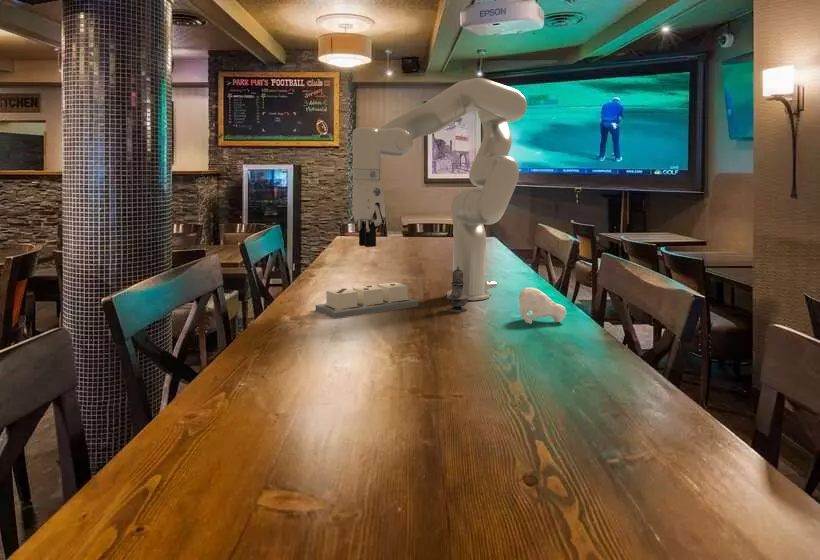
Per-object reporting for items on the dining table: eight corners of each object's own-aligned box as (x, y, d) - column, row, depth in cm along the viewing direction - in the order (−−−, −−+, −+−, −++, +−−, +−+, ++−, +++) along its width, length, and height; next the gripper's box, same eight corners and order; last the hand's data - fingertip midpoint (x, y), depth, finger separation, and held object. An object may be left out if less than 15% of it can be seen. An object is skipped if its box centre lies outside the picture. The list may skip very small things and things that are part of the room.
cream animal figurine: (519, 284, 157) (567, 290, 156) (515, 316, 158) (562, 323, 157) (521, 289, 151) (570, 295, 149) (516, 322, 152) (565, 329, 151)
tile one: (395, 296, 176) (395, 281, 176) (407, 299, 172) (407, 284, 171) (377, 298, 173) (377, 283, 172) (389, 302, 168) (389, 287, 167)
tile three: (346, 302, 167) (346, 287, 167) (357, 306, 163) (357, 291, 162) (326, 305, 164) (326, 289, 163) (337, 309, 159) (337, 293, 158)
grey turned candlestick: (466, 313, 163) (467, 268, 161) (444, 312, 164) (445, 267, 162) (469, 308, 169) (470, 264, 167) (447, 307, 170) (448, 264, 168)
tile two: (371, 299, 172) (371, 284, 171) (383, 303, 167) (383, 287, 166) (352, 301, 169) (352, 286, 168) (364, 305, 164) (363, 290, 163)
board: (315, 310, 165) (315, 304, 165) (396, 299, 180) (396, 294, 180) (335, 318, 156) (334, 312, 156) (418, 306, 171) (418, 300, 171)
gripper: (396, 176, 157) (395, 248, 161) (363, 175, 170) (364, 242, 174) (370, 176, 153) (371, 250, 156) (339, 175, 166) (340, 244, 169)
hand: (367, 245), depth 165 cm, fingers closed
